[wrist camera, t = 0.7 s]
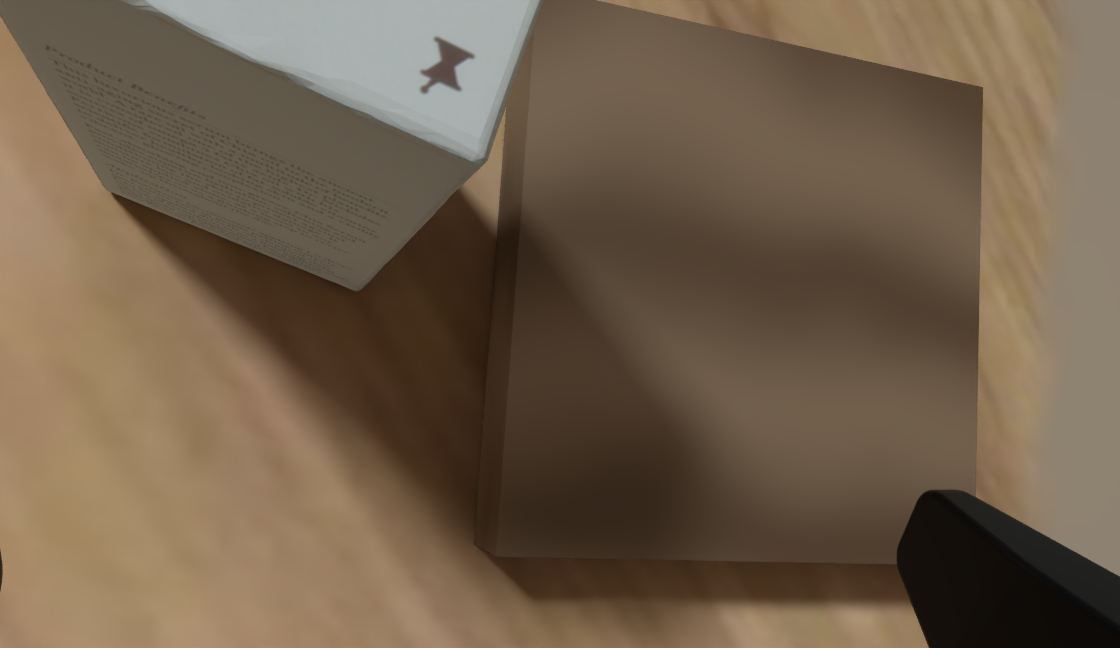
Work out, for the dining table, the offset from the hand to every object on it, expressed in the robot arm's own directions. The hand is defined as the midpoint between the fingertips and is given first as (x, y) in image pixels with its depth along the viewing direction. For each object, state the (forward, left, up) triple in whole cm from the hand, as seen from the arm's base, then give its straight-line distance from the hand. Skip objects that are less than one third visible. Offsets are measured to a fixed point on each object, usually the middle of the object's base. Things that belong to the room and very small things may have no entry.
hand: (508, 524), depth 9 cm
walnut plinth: (+5, -10, -13) cm, 17 cm away
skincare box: (+7, +2, -13) cm, 15 cm away
